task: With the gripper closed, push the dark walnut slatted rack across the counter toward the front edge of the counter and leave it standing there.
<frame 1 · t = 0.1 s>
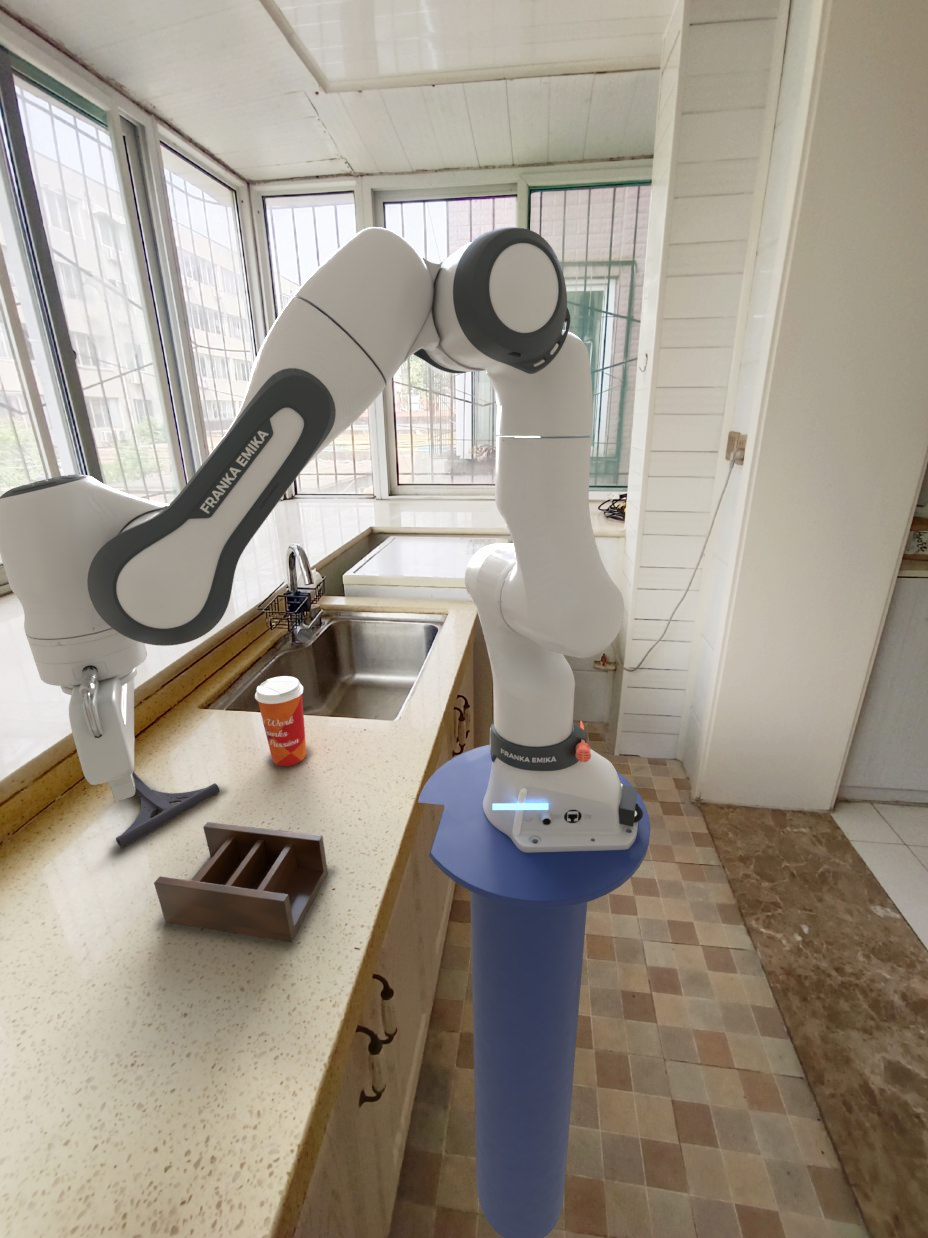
hand: (126, 769, 57), 21 cm above the counter, tool pointing down, fingers open, 8 cm apart
rack: (250, 896, 67), on the counter
bracket: (152, 801, 84), on the counter
paper cup: (290, 757, 94), on the counter
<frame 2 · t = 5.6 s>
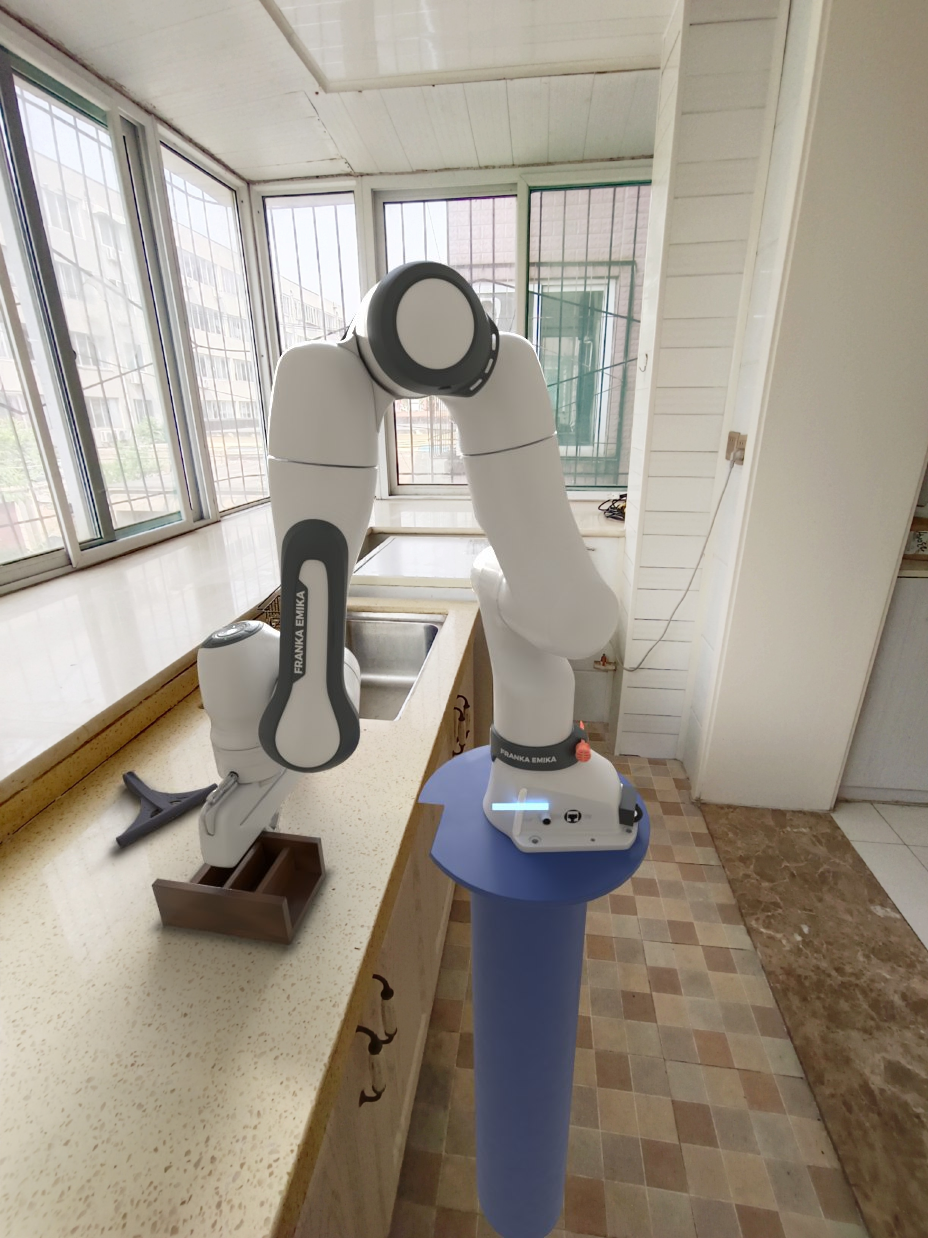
hand: (270, 839, 71), 3 cm above the counter, tool pointing down, fingers closed
rack: (248, 898, 66), on the counter, touching gripper
everything else where it was.
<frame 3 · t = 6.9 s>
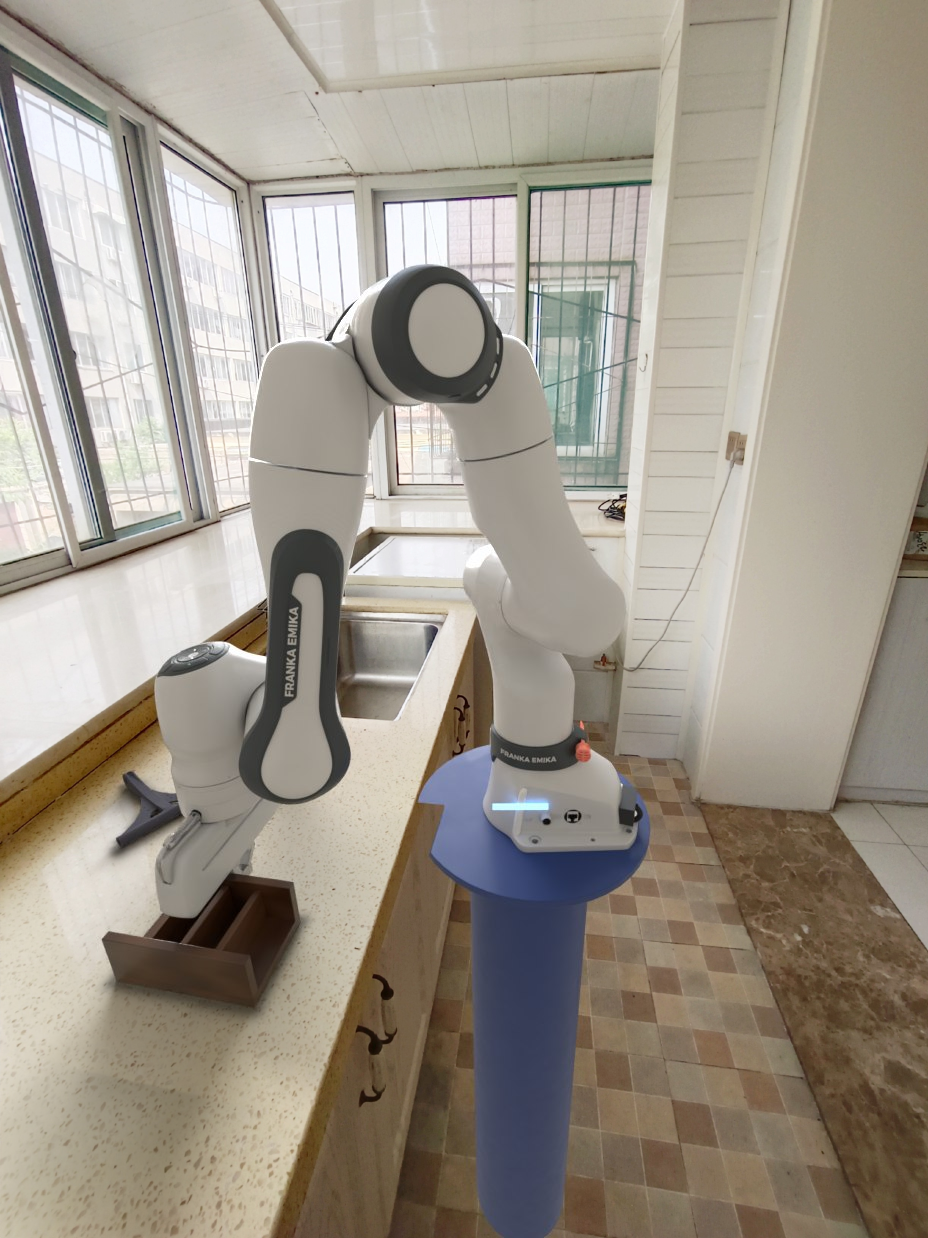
hand: (241, 879, 65), 3 cm above the counter, tool pointing down, fingers closed
rack: (213, 949, 60), on the counter, touching gripper
everything else where it was.
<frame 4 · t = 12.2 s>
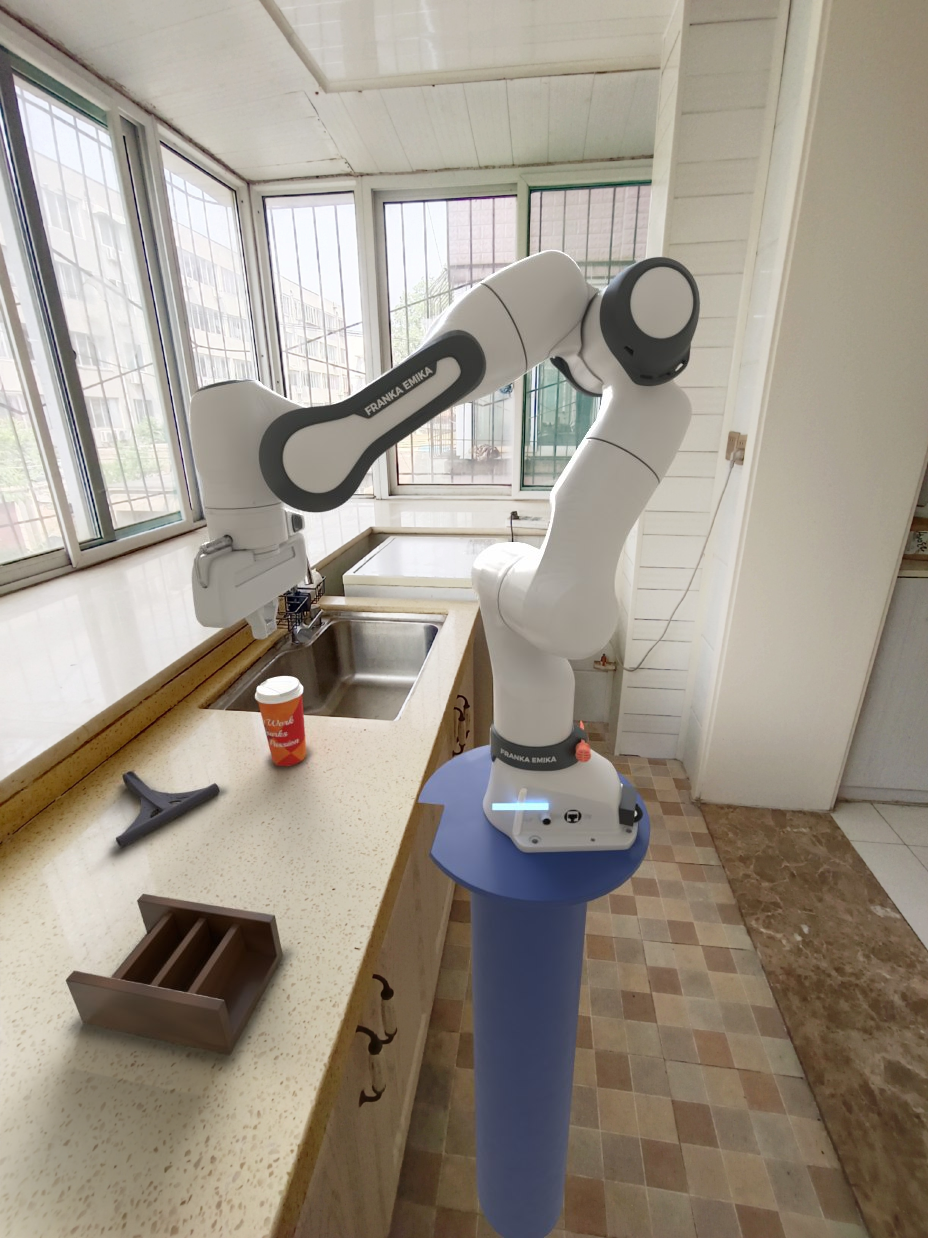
hand: (265, 635, 69), 29 cm above the counter, tool pointing down, fingers closed
rack: (188, 987, 56), on the counter
everything else where it was.
at the end: rack inside the target area (0.4 cm from its centre), on the counter; rack moved 11.6 cm from its start; rack tilted 0° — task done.
